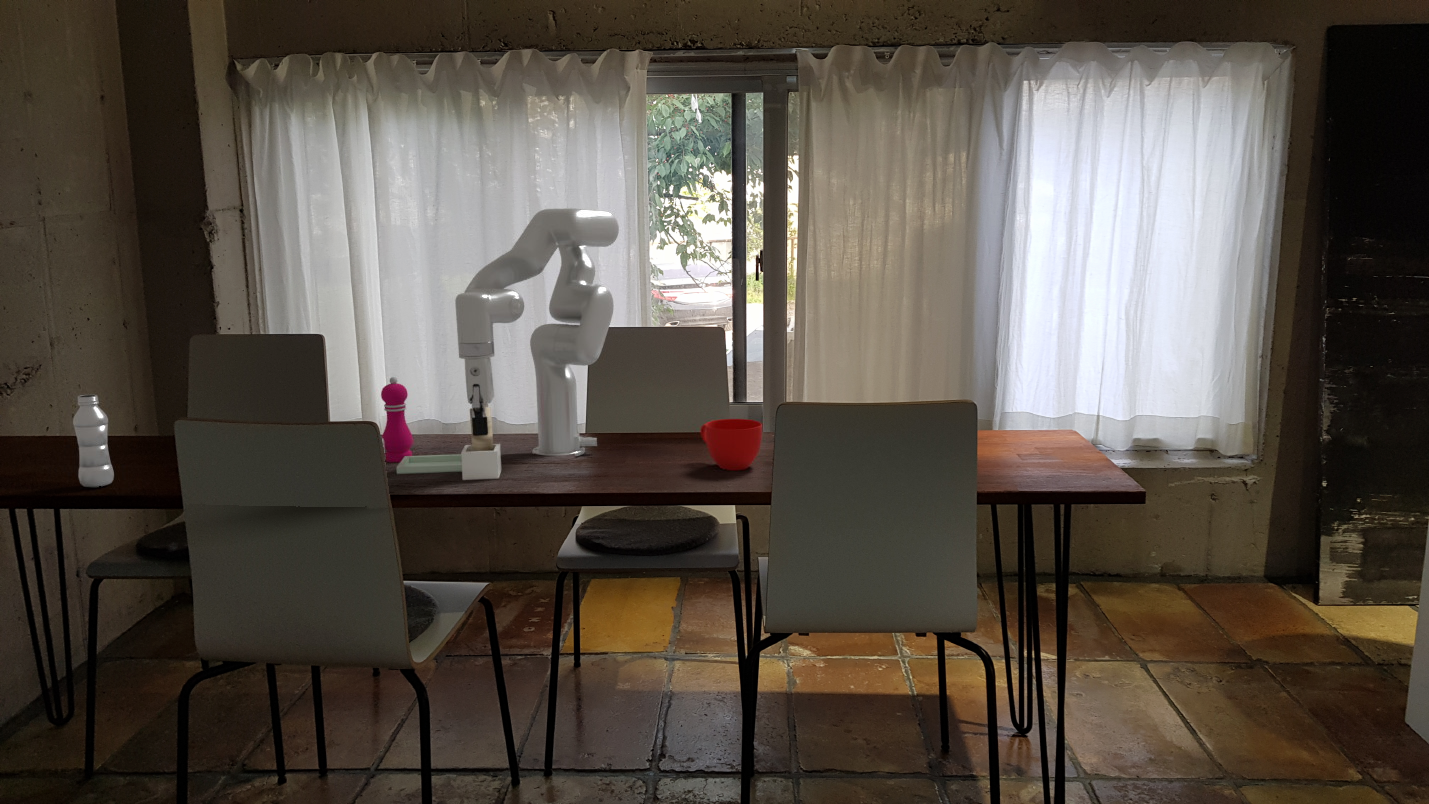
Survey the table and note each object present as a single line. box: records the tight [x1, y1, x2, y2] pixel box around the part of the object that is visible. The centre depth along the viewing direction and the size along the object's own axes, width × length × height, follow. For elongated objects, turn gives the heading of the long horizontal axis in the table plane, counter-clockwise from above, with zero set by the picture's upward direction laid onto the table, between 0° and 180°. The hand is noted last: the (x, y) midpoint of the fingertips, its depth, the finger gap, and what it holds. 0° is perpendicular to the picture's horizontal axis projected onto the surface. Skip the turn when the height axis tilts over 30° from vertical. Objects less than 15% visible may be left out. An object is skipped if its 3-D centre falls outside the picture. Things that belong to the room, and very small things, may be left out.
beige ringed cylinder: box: [469, 406, 494, 451], centre depth 229 cm, size 4×4×12 cm
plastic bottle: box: [72, 394, 115, 488], centre depth 226 cm, size 6×7×20 cm
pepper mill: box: [380, 376, 414, 463], centre depth 249 cm, size 7×7×20 cm
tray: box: [396, 453, 462, 475], centre depth 238 cm, size 16×11×2 cm
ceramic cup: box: [700, 418, 763, 471], centre depth 240 cm, size 13×17×10 cm
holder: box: [460, 443, 502, 481], centre depth 230 cm, size 8×8×7 cm
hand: (481, 431), depth 229 cm, fingers closed on beige ringed cylinder, 4 cm apart
